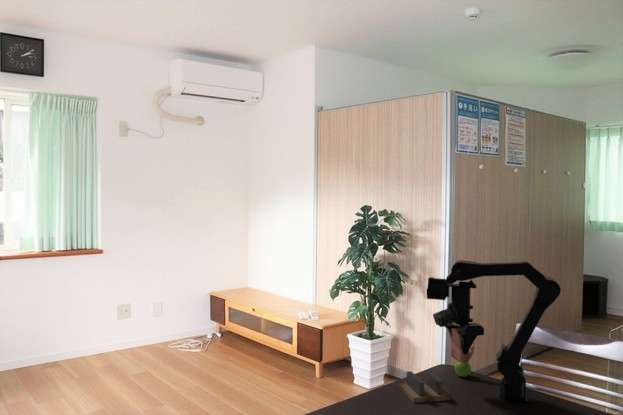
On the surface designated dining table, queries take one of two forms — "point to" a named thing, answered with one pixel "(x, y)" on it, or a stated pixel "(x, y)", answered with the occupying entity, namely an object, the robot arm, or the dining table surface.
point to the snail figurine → (464, 365)
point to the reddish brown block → (457, 346)
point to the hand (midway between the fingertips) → (459, 351)
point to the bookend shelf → (424, 388)
